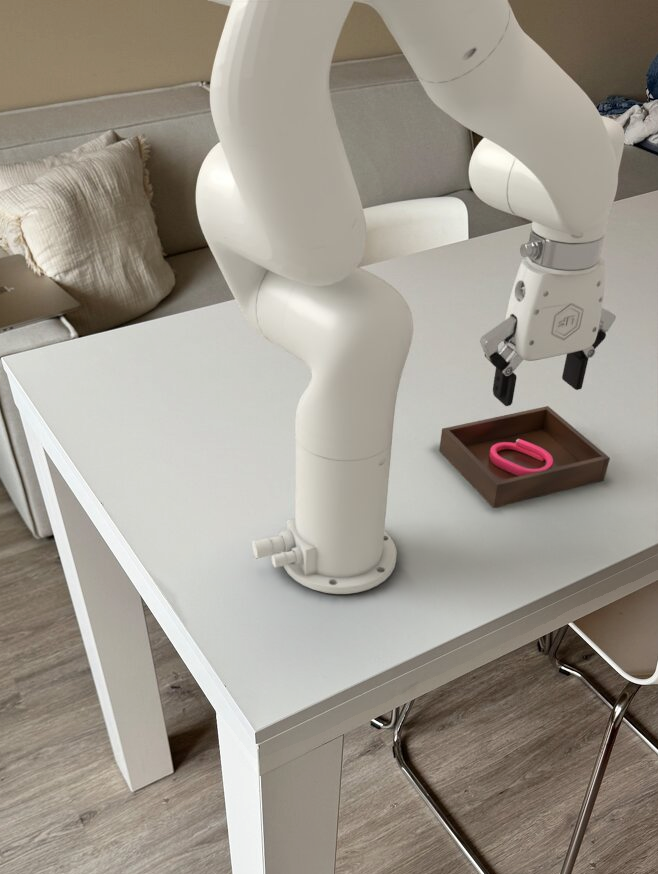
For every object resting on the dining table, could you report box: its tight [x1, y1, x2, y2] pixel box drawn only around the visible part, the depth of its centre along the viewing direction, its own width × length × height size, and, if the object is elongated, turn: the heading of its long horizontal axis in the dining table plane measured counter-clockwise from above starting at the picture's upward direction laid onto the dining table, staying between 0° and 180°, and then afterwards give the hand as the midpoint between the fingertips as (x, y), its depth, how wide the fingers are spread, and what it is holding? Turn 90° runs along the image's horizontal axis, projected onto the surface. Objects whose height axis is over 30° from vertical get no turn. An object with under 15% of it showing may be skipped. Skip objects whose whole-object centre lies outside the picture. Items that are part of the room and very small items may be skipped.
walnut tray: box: [438, 405, 611, 509], centre depth 111 cm, size 16×13×3 cm
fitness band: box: [490, 439, 553, 476], centre depth 111 cm, size 8×6×2 cm
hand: (537, 392), depth 106 cm, fingers open, 9 cm apart
